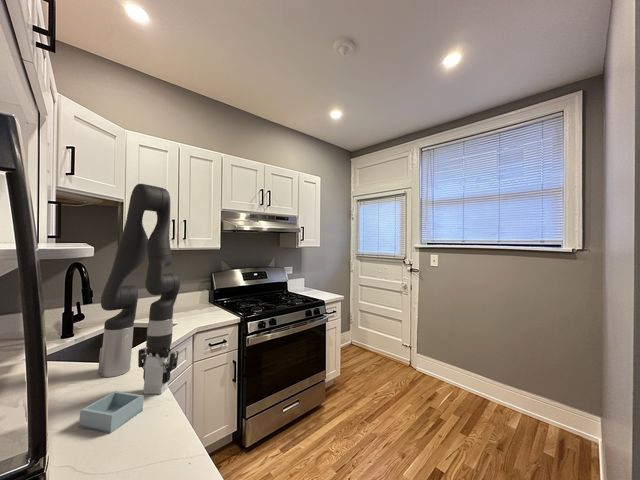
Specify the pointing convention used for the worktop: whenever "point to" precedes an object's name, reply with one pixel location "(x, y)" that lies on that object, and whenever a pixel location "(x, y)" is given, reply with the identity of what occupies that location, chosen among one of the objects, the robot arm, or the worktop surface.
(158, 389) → the skincare box
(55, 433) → the worktop surface
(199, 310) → the worktop surface
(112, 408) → the tray
